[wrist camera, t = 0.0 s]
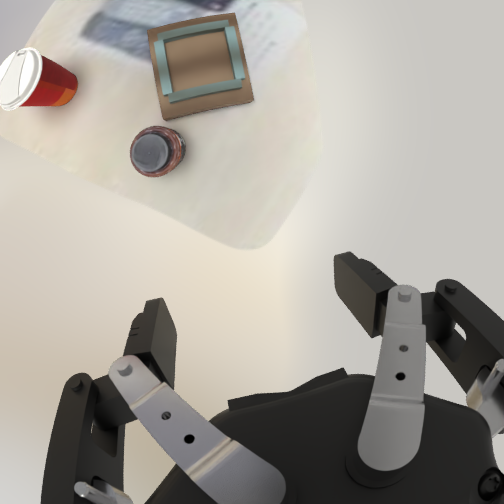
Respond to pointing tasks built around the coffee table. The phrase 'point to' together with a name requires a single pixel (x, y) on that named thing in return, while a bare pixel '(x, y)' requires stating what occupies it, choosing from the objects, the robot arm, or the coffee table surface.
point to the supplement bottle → (157, 151)
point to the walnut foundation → (199, 65)
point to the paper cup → (34, 81)
